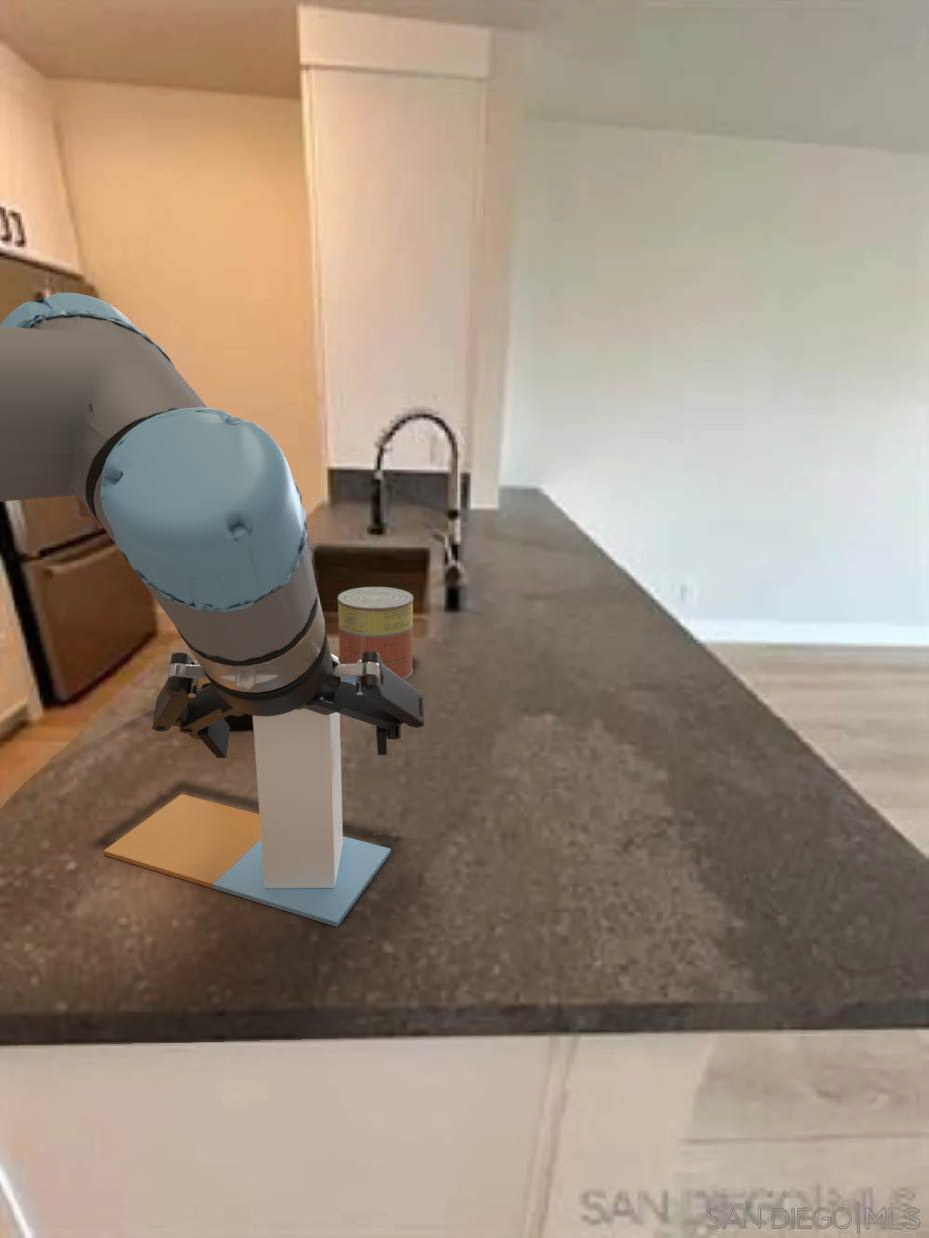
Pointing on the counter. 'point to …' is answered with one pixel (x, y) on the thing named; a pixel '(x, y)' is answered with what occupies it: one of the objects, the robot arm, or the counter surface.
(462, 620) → the counter surface
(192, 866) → the sorting board
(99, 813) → the counter surface
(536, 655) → the counter surface
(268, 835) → the milk
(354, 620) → the canned food
